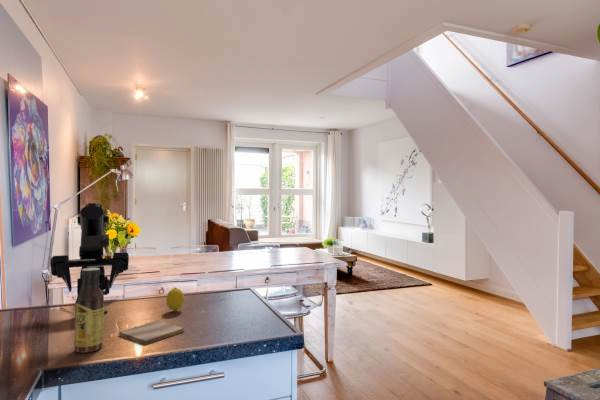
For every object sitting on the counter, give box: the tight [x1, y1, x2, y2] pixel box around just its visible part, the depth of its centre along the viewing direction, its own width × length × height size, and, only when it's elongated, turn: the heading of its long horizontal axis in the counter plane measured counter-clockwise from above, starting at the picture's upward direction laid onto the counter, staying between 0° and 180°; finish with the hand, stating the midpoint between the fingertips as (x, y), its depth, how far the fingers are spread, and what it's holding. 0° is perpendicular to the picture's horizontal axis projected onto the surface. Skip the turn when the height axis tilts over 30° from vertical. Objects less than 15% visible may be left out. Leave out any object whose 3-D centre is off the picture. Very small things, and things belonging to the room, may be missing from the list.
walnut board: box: [118, 320, 185, 346], centre depth 103 cm, size 12×12×1 cm
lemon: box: [166, 287, 185, 312], centre depth 125 cm, size 6×6×8 cm
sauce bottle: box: [73, 268, 105, 354], centre depth 92 cm, size 7×6×20 cm
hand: (90, 289), depth 99 cm, fingers open, 9 cm apart
